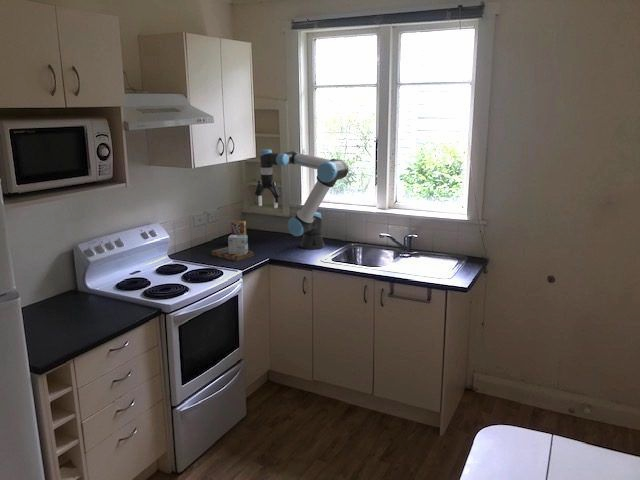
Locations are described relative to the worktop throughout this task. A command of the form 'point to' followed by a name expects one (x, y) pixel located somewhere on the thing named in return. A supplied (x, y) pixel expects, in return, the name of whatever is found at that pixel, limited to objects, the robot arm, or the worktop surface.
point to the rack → (234, 257)
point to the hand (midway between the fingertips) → (268, 206)
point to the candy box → (238, 227)
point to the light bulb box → (238, 244)
